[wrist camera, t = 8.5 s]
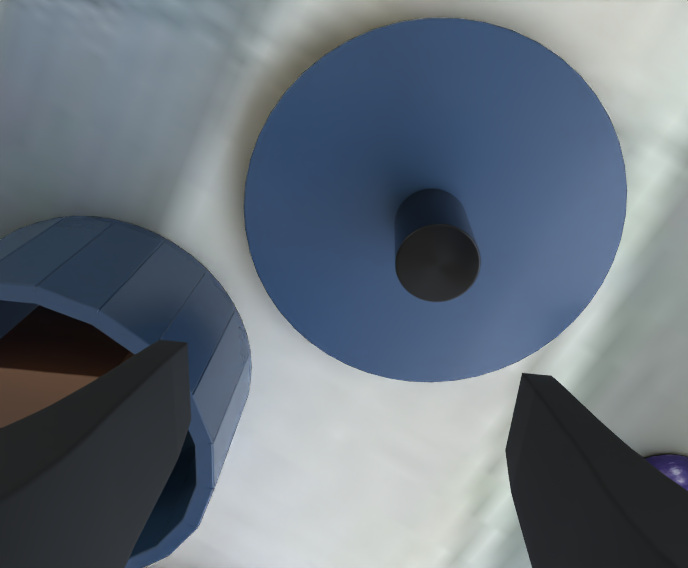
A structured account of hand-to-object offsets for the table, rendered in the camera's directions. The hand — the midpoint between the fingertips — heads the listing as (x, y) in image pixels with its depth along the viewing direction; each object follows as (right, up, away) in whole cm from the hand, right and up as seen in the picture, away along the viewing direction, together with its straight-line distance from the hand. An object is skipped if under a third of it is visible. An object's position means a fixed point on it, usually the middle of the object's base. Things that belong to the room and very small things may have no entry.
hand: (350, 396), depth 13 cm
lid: (+3, +5, +8) cm, 10 cm away
